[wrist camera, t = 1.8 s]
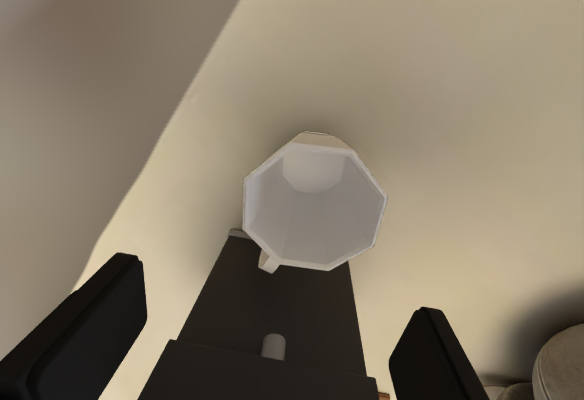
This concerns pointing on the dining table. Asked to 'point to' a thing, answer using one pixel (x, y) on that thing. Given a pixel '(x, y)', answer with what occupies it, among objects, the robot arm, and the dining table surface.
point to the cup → (312, 204)
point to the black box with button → (266, 335)
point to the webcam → (555, 370)
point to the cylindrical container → (494, 391)
